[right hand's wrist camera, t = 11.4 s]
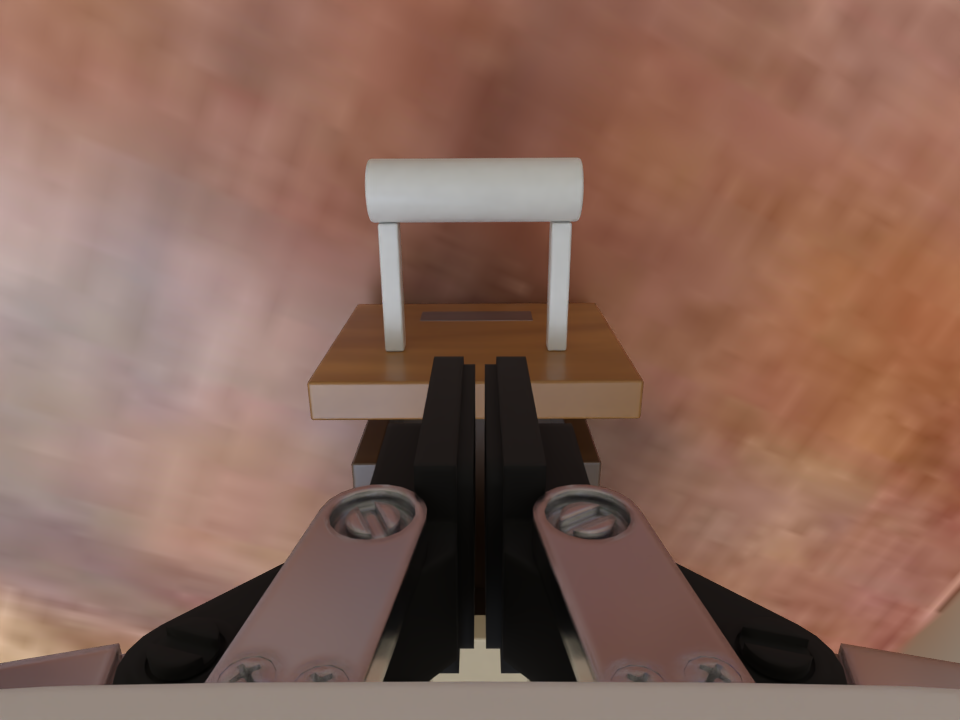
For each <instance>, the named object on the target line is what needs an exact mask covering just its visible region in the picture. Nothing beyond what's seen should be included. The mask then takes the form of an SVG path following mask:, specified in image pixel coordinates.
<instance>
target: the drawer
mask: <svg viewBox="0 0 960 720" xmlns="http://www.w3.org/2000/svg"><path fill="white" fill-rule="evenodd" d="M583 191H584V175H583V165H582V162H581V159H580V158H424V159H369V160H368V162H367V165H366V171H365V195H366V205H367V211H368V215H369V218H370V220H371V222H374V223H379V224H378V238H379V254H380V270H381V287H382V303H383V304H359V305H357V307H356V309H355V310H354V312H353V313H352V315H351V316H350V318H349V319H348V321H347V322H346V324H345V326H344V327H343V329H342V330H341V332H340V333H339V335H338V336H337V338H336V340H335V341H334V343H333V344H332V346H331V347H330V349H329V350H328V352H327V354H326V355H325V357H324V358H323V360H322V361H321V363H320V364H319V366H318V368H317V369H316V371H315V372H314V374H313V375H312V377H311V378H310V380H309V381H308V384H307V385H308V394H309V403H310V413H311V418H312V420H368V421H367V424H366V427H365V429H364V432H363V435H362V438H361V440H360V443H359V446H358V448H357V451H356V454H355V457H354V459H353V462H352V475H353V487H354V488H356V487H361V486H367V485H370V483H371V479H372V476H373V473H374V469H375V466H376V463H377V459H378V456H379V452H380V449H381V446H382V442H383V439H384V436H385V432H386V429H387V426H388V424H389V423H422V418H423V413H424V407H425V402H426V397H427V392H428V386H429V381H430V376H431V370H432V365H433V360H434V356H464V364H475V434H476V521H475V612H474V615H486V612H485V522H484V434H485V364H496V356H526V360H527V365H528V370H529V376H530V381H531V386H532V392H533V397H534V402H535V407H536V413H537V418H538V423H571V424H572V426H573V429H574V432H575V436H576V439H577V442H578V446H579V449H580V452H581V456H582V459H583V463H584V466H585V469H586V473H587V476H588V479H589V483H590V485H593V486H599V485H600V471H601V462H600V459H599V456H598V453H597V450H596V447H595V444H594V441H593V439H592V436H591V433H590V430H589V427H588V424H587V421H586V419H606V418H640V415H641V404H642V393H643V380H642V378H641V377H640V375H639V374H638V372H637V370H636V369H635V367H634V365H633V364H632V362H631V360H630V359H629V357H628V356H627V354H626V352H625V351H624V349H623V347H622V346H621V344H620V343H619V341H618V339H617V338H616V336H615V334H614V333H613V331H612V330H611V328H610V326H609V325H608V323H607V321H606V320H605V318H604V317H603V315H602V313H601V312H600V310H599V308H598V307H597V305H596V304H595V303H568V302H569V279H570V257H571V234H572V224H571V222H575V221H578V220H579V218H580V215H581V211H582V204H583ZM400 222H550V235H549V266H548V297H547V303H512V304H404V295H403V275H402V254H401V234H400Z"/></svg>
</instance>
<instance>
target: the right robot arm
mask: <svg viewBox="0 0 960 720" xmlns="http://www.w3.org/2000/svg"><path fill="white" fill-rule="evenodd" d="M475 521H476V434H475V364H464V356H434V360H433V365H432V370H431V376H430V381H429V386H428V392H427V397H426V402H425V407H424V413H423V418H422V423H389V424H388V426H387V429H386V432H385V436H384V439H383V442H382V446H381V449H380V452H379V456H378V459H377V463H376V466H375V469H374V473H373V476H372V479H371V483H370V485H367V486H361V487H356V488H353V489H350V490H347V491H344V492H342V493H340V494H338V495H337V496H335V497H333V498H331V499H330V500H329V501H328V502H327V503H326V504H325V505H324V506H323V507H322V508H321V509H320V511H319V512H318V514H317V515H316V517H315V518H314V520H313V521H312V523H311V524H310V526H309V527H308V529H307V530H306V532H305V533H304V535H303V536H302V538H301V539H300V541H299V542H298V544H297V545H296V547H295V548H294V550H293V551H292V553H291V554H290V556H289V557H288V559H287V560H286V562H285V563H283V564H281V565H279V566H277V567H275V568H273V569H271V570H269V571H267V572H265V573H263V574H261V575H259V576H257V577H255V578H254V579H252V580H250V581H248V582H246V583H244V584H242V585H240V586H238V587H236V588H234V589H232V590H230V591H228V592H226V593H224V594H222V595H220V596H218V597H216V598H214V599H212V600H210V601H208V602H206V603H204V604H202V605H200V606H198V607H196V608H194V609H192V610H190V611H188V612H186V613H184V614H182V615H180V616H178V617H176V618H174V619H172V620H170V621H168V622H166V623H165V624H163V625H161V626H159V627H158V628H156V629H154V630H153V631H151V632H150V633H148V634H146V635H145V636H143V637H142V638H141V639H140V640H139V641H138V642H137V643H136V644H134V645H133V646H132V647H131V648H130V649H129V650H128V651H127V652H126V654H122V653H121V649H120V645H119V643H118V644H112V645H106V646H100V647H94V648H88V649H83V650H77V651H71V652H65V653H59V654H53V655H47V656H41V657H35V658H29V659H23V660H17V661H11V662H5V663H0V720H960V663H955V662H949V661H943V660H937V659H931V658H925V657H919V656H913V655H907V654H901V653H895V652H889V651H883V650H877V649H872V648H866V647H860V646H854V645H848V644H842V643H841V645H840V649H839V653H838V654H834V652H833V651H832V650H831V649H830V648H829V647H828V646H827V645H826V644H824V643H823V642H822V641H821V640H820V639H819V638H818V637H817V636H815V635H814V634H812V633H810V632H809V631H807V630H806V629H804V628H802V627H801V626H799V625H797V624H795V623H794V622H792V621H790V620H788V619H786V618H784V617H782V616H780V615H778V614H776V613H774V612H772V611H770V610H768V609H766V608H764V607H762V606H760V605H758V604H756V603H754V602H752V601H750V600H748V599H746V598H744V597H742V596H740V595H738V594H736V593H734V592H732V591H730V590H728V589H726V588H724V587H722V586H720V585H718V584H716V583H714V582H712V581H710V580H708V579H706V578H704V577H703V576H701V575H699V574H697V573H695V572H693V571H691V570H689V569H687V568H685V567H683V566H681V565H679V564H677V563H675V562H674V560H673V559H672V557H671V556H670V554H669V553H668V551H667V550H666V548H665V547H664V545H663V544H662V542H661V541H660V539H659V538H658V536H657V535H656V533H655V532H654V530H653V529H652V527H651V526H650V524H649V523H648V521H647V520H646V518H645V517H644V515H643V514H642V512H641V511H640V509H639V508H638V507H637V506H636V505H635V504H634V503H633V502H632V501H631V500H630V499H629V498H627V497H625V496H623V495H622V494H620V493H618V492H616V491H613V490H610V489H607V488H604V487H599V486H593V485H590V483H589V479H588V476H587V473H586V469H585V466H584V463H583V459H582V456H581V452H580V449H579V446H578V442H577V439H576V436H575V432H574V429H573V426H572V424H571V423H538V418H537V413H536V407H535V402H534V397H533V392H532V386H531V381H530V376H529V370H528V365H527V360H526V356H496V364H485V434H484V522H485V612H486V649H500V663H501V673H521V674H522V675H523V676H525V677H526V678H527V682H485V681H475V682H433V678H434V677H435V676H437V675H438V674H439V673H459V663H460V649H474V612H475Z"/></svg>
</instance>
